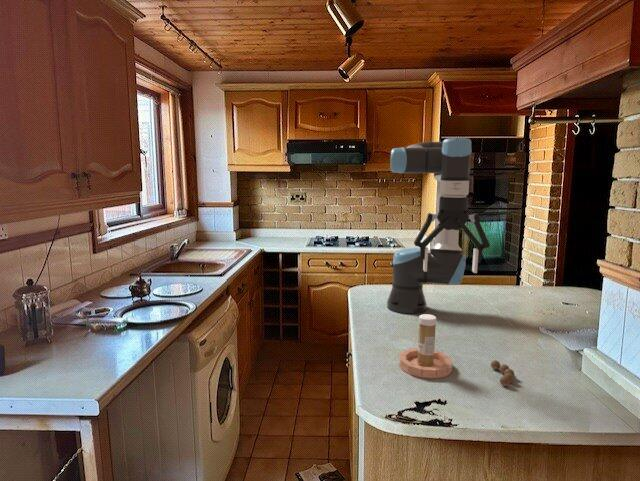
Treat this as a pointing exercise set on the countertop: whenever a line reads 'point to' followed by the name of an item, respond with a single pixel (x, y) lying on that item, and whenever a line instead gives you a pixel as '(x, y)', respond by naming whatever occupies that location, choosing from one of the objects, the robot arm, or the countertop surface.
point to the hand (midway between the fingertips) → (449, 271)
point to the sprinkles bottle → (426, 340)
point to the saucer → (438, 370)
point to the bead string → (506, 371)
